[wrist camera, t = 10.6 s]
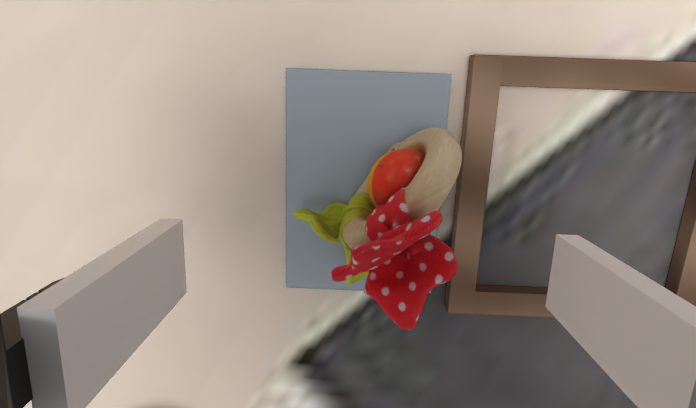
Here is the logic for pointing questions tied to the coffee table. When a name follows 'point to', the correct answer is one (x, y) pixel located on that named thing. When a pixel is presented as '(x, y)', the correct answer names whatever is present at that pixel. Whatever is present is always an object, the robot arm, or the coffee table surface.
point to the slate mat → (345, 150)
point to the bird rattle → (396, 225)
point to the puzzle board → (476, 145)
